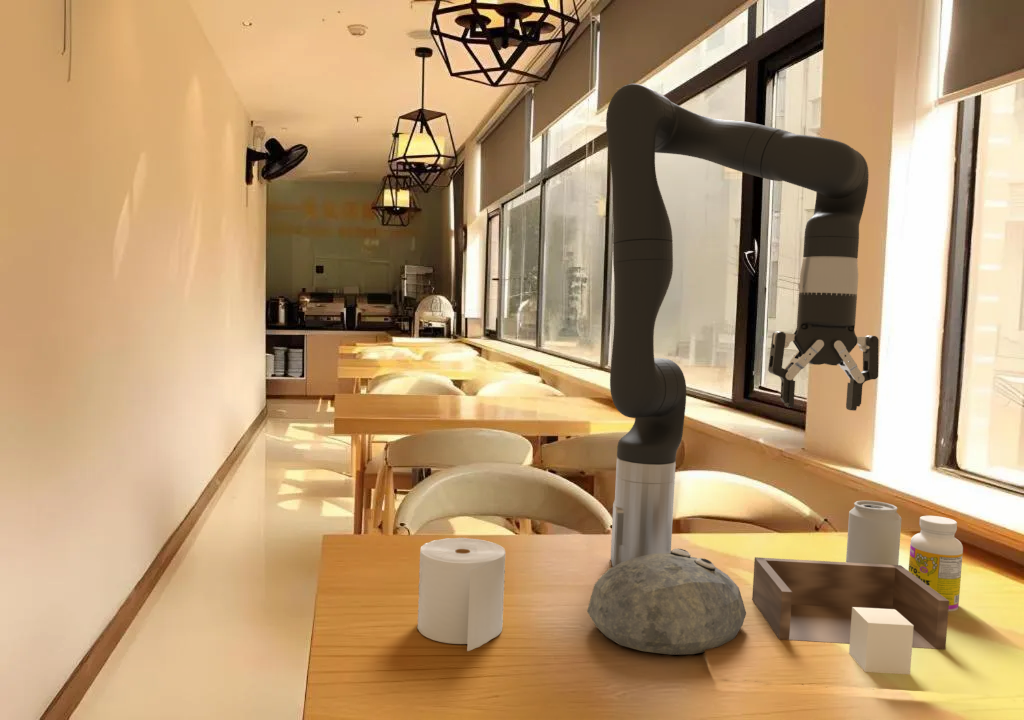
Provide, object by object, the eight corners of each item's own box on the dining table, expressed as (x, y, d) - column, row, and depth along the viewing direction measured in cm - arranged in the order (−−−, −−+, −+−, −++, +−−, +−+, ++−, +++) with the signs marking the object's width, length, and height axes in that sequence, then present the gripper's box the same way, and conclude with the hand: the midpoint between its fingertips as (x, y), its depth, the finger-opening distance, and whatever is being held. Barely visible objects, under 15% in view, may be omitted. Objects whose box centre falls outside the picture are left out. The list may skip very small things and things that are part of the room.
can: (886, 573, 132) (891, 499, 131) (904, 588, 125) (910, 511, 124) (839, 570, 133) (843, 497, 132) (853, 585, 125) (858, 508, 125)
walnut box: (778, 645, 101) (782, 591, 101) (751, 604, 115) (754, 557, 114) (945, 655, 100) (949, 600, 99) (897, 613, 114) (900, 565, 113)
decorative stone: (562, 617, 108) (566, 542, 107) (692, 600, 116) (696, 531, 116) (635, 673, 92) (639, 586, 91) (779, 649, 100) (784, 569, 100)
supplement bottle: (896, 599, 120) (902, 513, 119) (939, 600, 120) (945, 513, 119) (923, 616, 113) (929, 525, 112) (968, 617, 114) (975, 526, 113)
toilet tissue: (464, 606, 110) (466, 533, 109) (527, 634, 101) (531, 554, 101) (399, 625, 102) (402, 547, 102) (462, 657, 94) (466, 571, 93)
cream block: (864, 674, 93) (868, 622, 92) (848, 656, 98) (852, 606, 97) (909, 677, 92) (913, 625, 92) (891, 658, 97) (895, 609, 97)
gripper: (782, 288, 109) (775, 409, 110) (891, 293, 109) (883, 414, 110) (768, 290, 117) (761, 402, 118) (870, 294, 116) (862, 407, 117)
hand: (820, 408), depth 114 cm, fingers open, 8 cm apart
